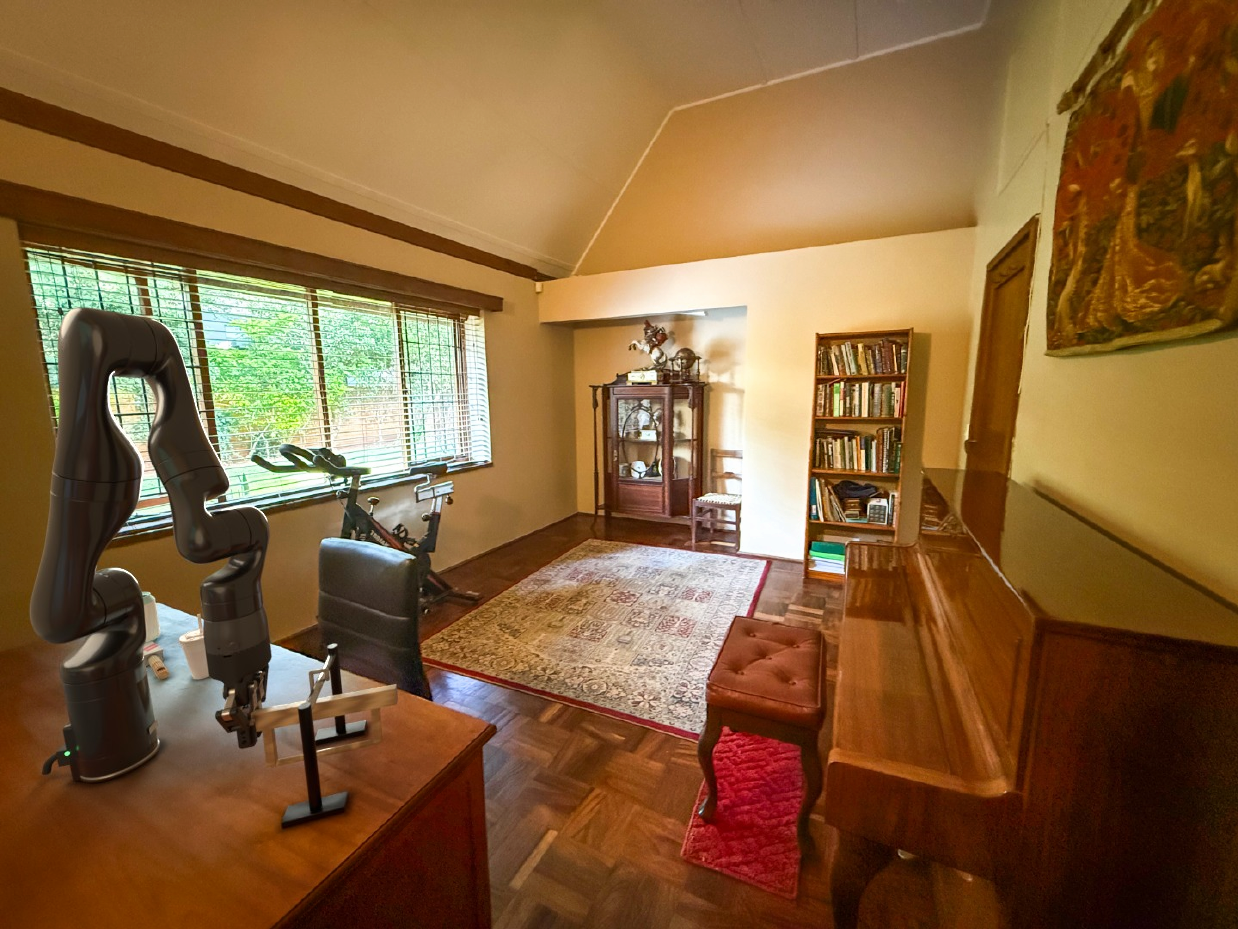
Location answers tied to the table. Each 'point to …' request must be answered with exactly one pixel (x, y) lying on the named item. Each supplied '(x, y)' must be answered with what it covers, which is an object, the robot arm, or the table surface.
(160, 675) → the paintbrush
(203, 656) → the smoothie
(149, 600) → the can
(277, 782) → the table surface
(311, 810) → the rail stand
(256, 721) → the hanger
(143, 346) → the robot arm
